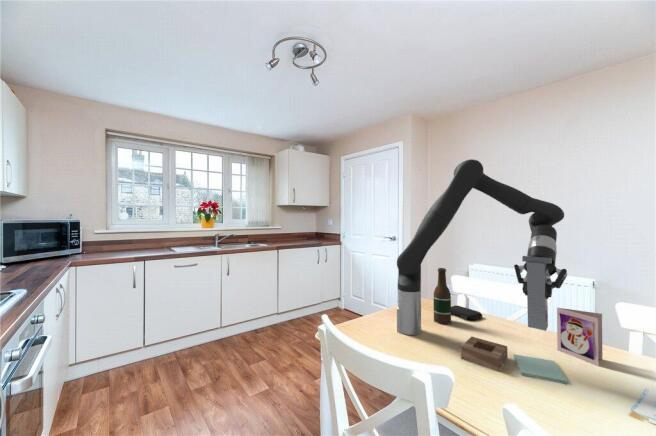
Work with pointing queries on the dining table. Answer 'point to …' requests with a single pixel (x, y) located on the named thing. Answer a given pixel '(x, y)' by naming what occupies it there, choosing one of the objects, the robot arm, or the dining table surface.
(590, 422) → the dining table surface
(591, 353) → the greeting card
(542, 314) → the t key
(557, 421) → the dining table surface
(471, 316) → the carrying case or bag
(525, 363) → the pad
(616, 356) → the dining table surface
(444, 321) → the beer bottle
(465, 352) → the socket block
